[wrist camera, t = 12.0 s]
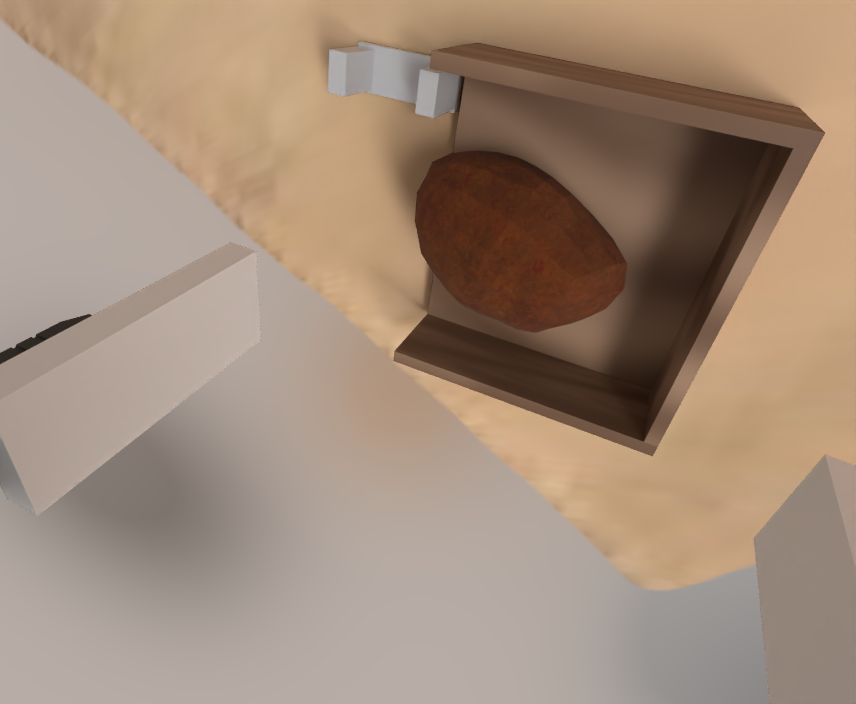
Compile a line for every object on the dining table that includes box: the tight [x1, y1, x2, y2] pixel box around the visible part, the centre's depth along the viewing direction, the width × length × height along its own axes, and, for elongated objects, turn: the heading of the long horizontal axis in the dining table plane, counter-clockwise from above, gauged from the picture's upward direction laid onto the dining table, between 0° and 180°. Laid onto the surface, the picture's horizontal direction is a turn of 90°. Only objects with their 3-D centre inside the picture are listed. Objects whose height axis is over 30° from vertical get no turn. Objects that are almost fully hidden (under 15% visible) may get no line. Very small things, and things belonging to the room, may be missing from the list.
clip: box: [328, 41, 463, 118], centre depth 29 cm, size 2×6×4 cm, turn 82°
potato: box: [415, 150, 627, 333], centre depth 27 cm, size 8×12×8 cm, turn 64°
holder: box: [393, 43, 825, 456], centre depth 28 cm, size 16×15×6 cm
